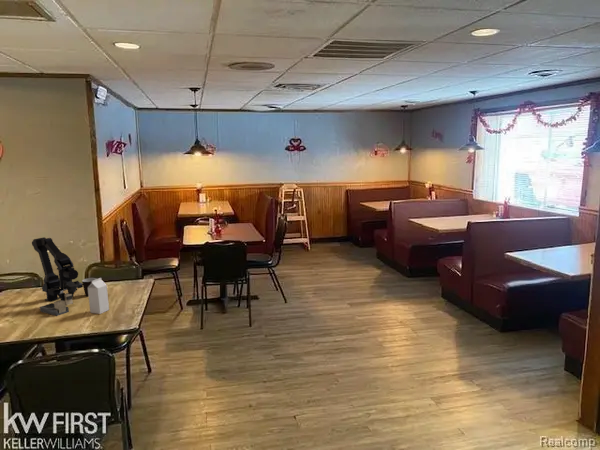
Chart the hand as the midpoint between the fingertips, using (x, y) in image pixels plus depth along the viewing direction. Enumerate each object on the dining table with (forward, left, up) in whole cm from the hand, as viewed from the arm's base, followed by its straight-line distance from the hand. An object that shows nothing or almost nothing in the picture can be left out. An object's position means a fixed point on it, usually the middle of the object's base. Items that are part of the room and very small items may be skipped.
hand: (67, 302), depth 277 cm
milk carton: (+30, 0, -1) cm, 30 cm away
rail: (+6, -12, -1) cm, 13 cm away
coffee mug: (-3, +19, -1) cm, 19 cm away
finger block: (0, 0, -1) cm, 1 cm away
